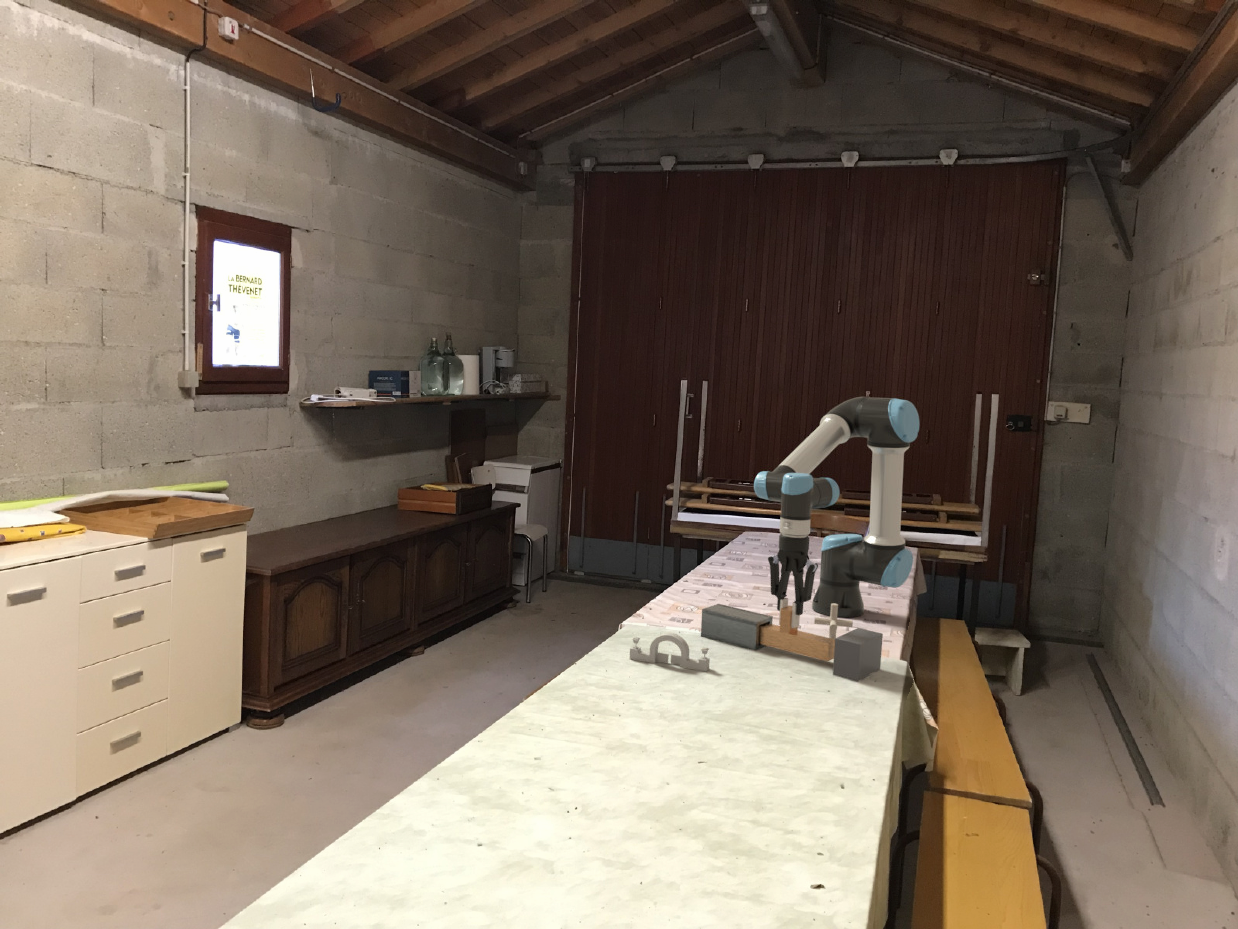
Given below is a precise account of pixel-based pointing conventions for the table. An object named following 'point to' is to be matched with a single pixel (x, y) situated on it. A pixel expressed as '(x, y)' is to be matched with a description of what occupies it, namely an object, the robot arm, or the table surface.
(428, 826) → the table surface
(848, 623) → the cream cross joint
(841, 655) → the socket block
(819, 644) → the orange-brown sliding bolt
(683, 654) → the gateway
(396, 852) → the table surface
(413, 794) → the table surface
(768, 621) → the sleeve
